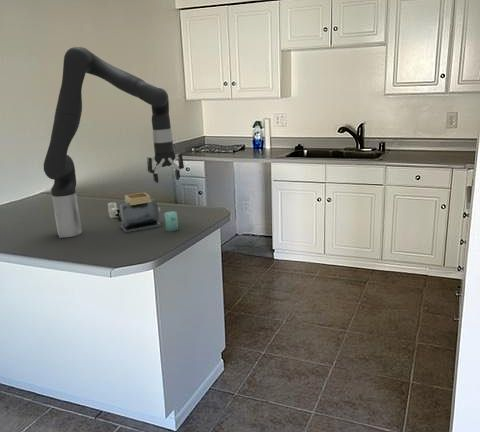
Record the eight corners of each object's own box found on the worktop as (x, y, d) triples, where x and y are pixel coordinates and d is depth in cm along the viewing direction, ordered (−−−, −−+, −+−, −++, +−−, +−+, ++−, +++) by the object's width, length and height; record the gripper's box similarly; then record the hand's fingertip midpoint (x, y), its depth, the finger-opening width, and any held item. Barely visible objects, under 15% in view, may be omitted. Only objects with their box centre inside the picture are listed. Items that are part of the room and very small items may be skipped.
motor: (126, 232, 195) (122, 200, 191) (120, 226, 204) (116, 196, 200) (164, 225, 202) (161, 194, 198) (157, 220, 210) (154, 190, 207)
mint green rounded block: (164, 228, 197) (162, 212, 195) (175, 226, 199) (174, 210, 197) (169, 233, 191) (167, 216, 189) (181, 230, 193) (179, 214, 191)
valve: (105, 217, 219) (116, 222, 210) (103, 204, 217) (115, 208, 209) (118, 214, 223) (130, 219, 214) (116, 201, 221) (128, 205, 213)
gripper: (147, 143, 180) (152, 185, 184) (183, 139, 185) (187, 180, 190) (142, 141, 186) (147, 182, 191) (177, 138, 192) (181, 177, 196)
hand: (167, 181), depth 190 cm, fingers open, 8 cm apart
